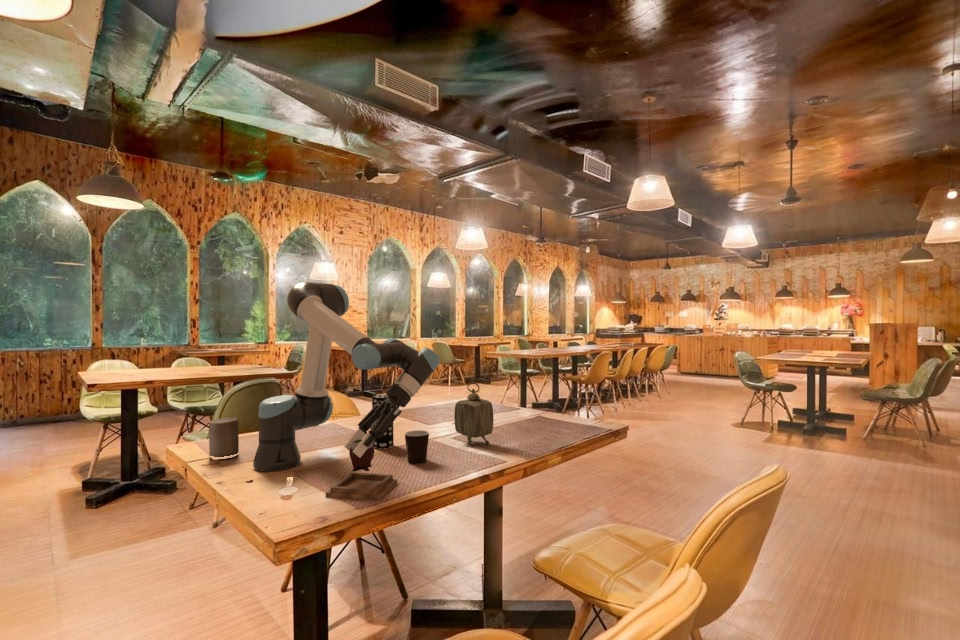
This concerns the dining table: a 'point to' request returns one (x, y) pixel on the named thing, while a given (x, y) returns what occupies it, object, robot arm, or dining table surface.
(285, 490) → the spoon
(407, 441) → the coffee mug
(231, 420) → the pillar candle
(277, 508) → the dining table surface
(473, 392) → the tabletop clock
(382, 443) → the spotted tube
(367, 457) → the mate gourd
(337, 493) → the walnut stand
